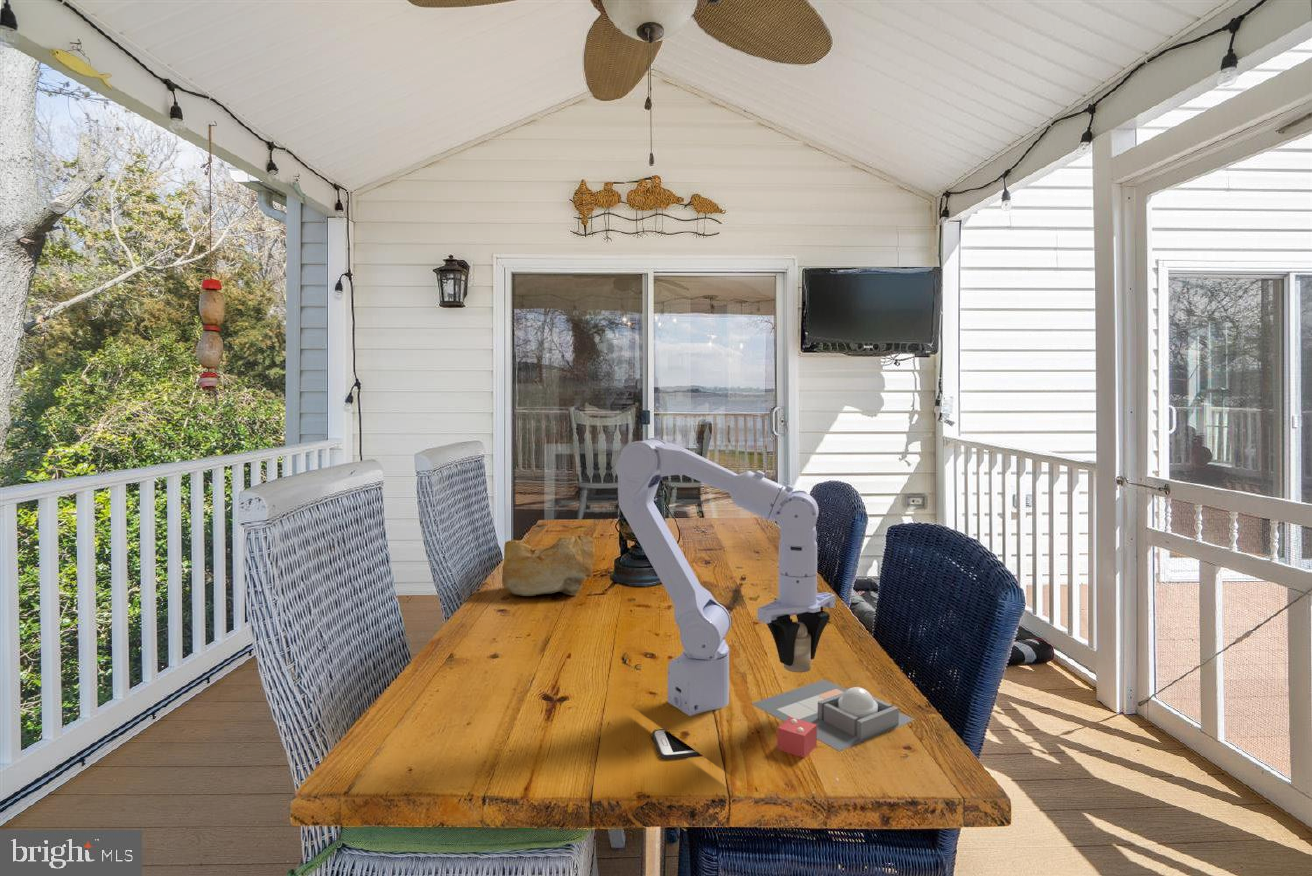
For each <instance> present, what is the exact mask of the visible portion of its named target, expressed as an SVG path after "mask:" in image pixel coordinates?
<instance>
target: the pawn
mask: <svg viewBox="0 0 1312 876" xmlns="http://www.w3.org/2000/svg"><path fill="white" fill-rule="evenodd" d="M794 622H795V623H798V624H800V627H799V629H798V632H797V636H796V640H795V648H794V661H793V665H791V666H788V665H785V664H783V669H785V670H786V671H788V672H792V673H802V674H803V673H807V672H809V671H810V670H811V661H812V659H811V635H810V634H808V633H807V628H806V626H805V625H804V624H803V623H802V622H799V621H798V620H797V621H794Z"/></svg>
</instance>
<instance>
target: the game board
mask: <svg viewBox="0 0 1312 876" xmlns="http://www.w3.org/2000/svg"><path fill="white" fill-rule="evenodd" d="M847 690H848V689H847V688H845V687H842V686H840V685H838V684H836V683H834V682H831V681H829V680H826V679H822V680H818V681H815V682H813V683H809V684H807V685H803V686H799V687H798V688H794V689H791V690H788V691H785V692H781V693H778V694H776V695H773V696H770V697H767V698H763V699H760V700H758V701H755V702H751V705H753V706H754V707H757V708H758V709H760V710H762V711H764V712H765V713H768V714H770V715H772V717H775V718H777V719H779V720H781V721H782V722H785V721H786V720H787V719H788V718H789V717H792V718H796V719H799V720H803V721H806V722H810V723H813V724H817V740H818V741H820V742H821V743H823V744H825V745H827V746H829V747H831V748H832V749H834V750H836V751H838V752H841V751H843V750H847V749H849V748H850V747H854V746H855V745H858V744H860V743H863V742H865V741H868V740H870V739H873V738H875V737H877V736H879V735H882V734H884V733H887V732H890V731H892V730H894V729H896V728H899V727H901V726H904V725H906V724H908V723H911V722H913V721H916V719H915V718H913V717H911V716H910V715H909V716H908V715H906V714H905V713H902V712H900V710H899V709H900V708H899V707H898V706H896V705H893V704H891V703H889V702H886V701H884V700H882V699H880V698H877V697H875V696H873V695H871V696H872V698H873V700H874V701H876V702H877V704H878V712H877V713H875V714H872V715H870V716H867V717H865V718H862V719H859V720H858V717H855V716H853V715H851V714H849V713H847V712H845V711H843V710H841V709H839V708H838V700H839V698H840V697H842V696H843V695H844V693H845V692H846V691H847Z"/></svg>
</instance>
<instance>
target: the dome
mask: <svg viewBox="0 0 1312 876" xmlns="http://www.w3.org/2000/svg"><path fill="white" fill-rule="evenodd" d="M872 696H873V695H872V694H871V693H870V692H869V691H868V690H866V689H865V688H862V687H860V686H854V687H851V688H848V689H847V691H846V692H845V693H844V695H843V696H842V697H840V698H839V700H838V708H839V709H841V710H843V711H845V712H847V713H849V714H851V715H853V716H855V717H858V720H859V719H862V718H865V717H867V716H870V715H872V714H875V713H877V712H878V704H877V702H876V701H874V700H873V698H872Z"/></svg>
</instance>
